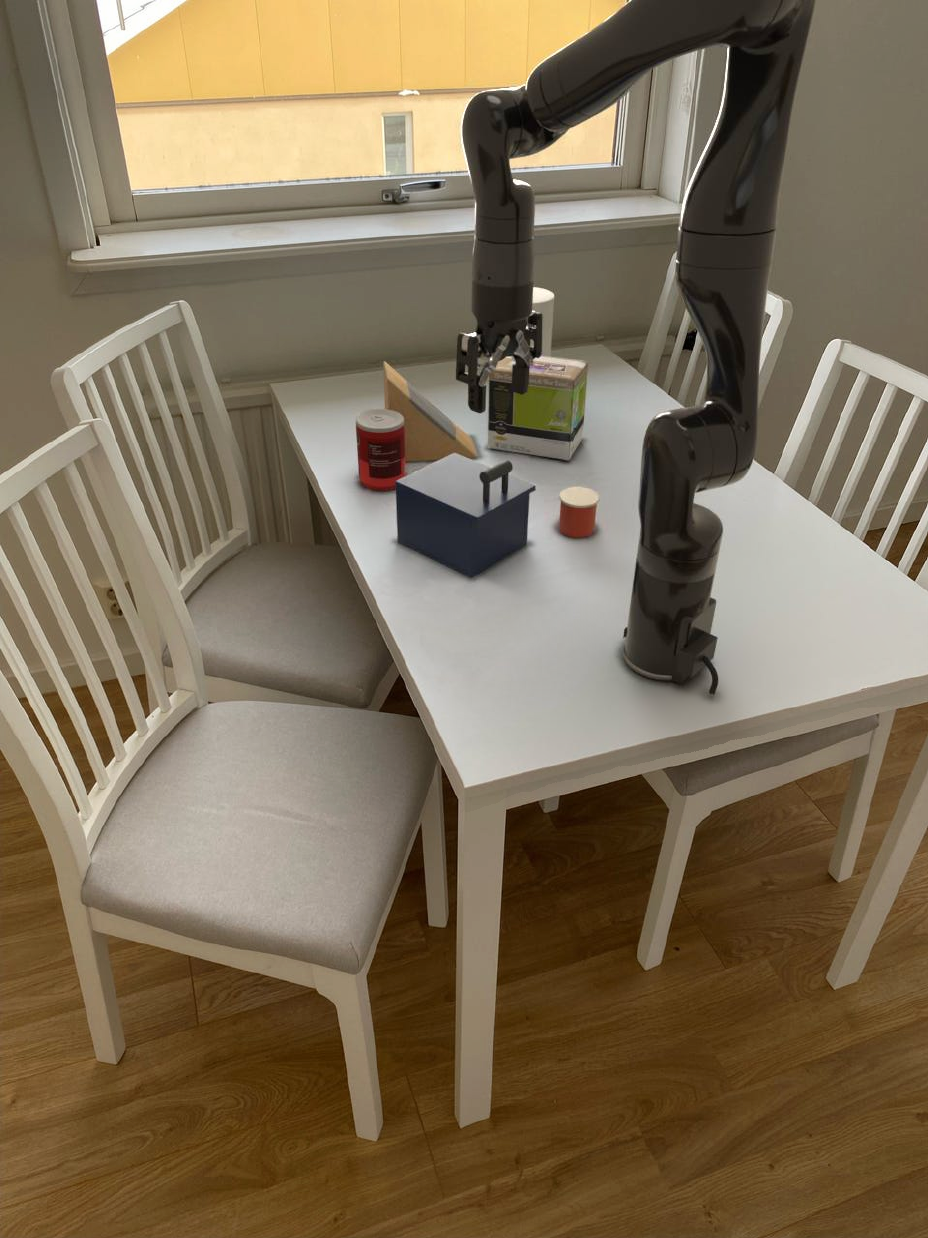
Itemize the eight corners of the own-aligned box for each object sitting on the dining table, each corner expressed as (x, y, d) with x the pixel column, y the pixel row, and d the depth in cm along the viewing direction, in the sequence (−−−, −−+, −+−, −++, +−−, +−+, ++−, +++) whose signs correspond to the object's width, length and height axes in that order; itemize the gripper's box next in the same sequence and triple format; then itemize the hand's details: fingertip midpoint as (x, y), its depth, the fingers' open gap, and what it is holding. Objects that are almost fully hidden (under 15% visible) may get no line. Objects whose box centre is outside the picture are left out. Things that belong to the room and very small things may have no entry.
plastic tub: (603, 528, 147) (607, 495, 144) (580, 542, 144) (583, 509, 140) (572, 515, 151) (575, 482, 147) (549, 529, 147) (551, 496, 144)
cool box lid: (535, 490, 137) (537, 455, 134) (477, 522, 130) (478, 487, 126) (454, 457, 146) (454, 423, 143) (395, 485, 138) (394, 451, 135)
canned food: (381, 465, 164) (378, 404, 157) (416, 479, 160) (414, 417, 153) (348, 481, 159) (344, 419, 153) (384, 496, 155) (381, 433, 148)
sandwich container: (478, 457, 166) (480, 374, 158) (390, 463, 165) (387, 378, 156) (471, 436, 173) (472, 355, 165) (386, 441, 171) (382, 359, 163)
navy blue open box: (527, 544, 143) (530, 488, 138) (471, 578, 136) (471, 520, 130) (454, 511, 151) (454, 457, 146) (397, 542, 143) (395, 486, 138)
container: (488, 391, 190) (490, 289, 179) (532, 384, 194) (538, 282, 182) (511, 410, 183) (515, 304, 171) (557, 402, 186) (564, 298, 175)
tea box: (583, 439, 173) (590, 359, 164) (568, 462, 165) (575, 380, 157) (503, 426, 177) (506, 348, 168) (485, 449, 169) (487, 367, 161)
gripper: (487, 294, 110) (485, 426, 120) (563, 269, 119) (554, 393, 128) (440, 281, 114) (440, 409, 124) (516, 257, 123) (511, 379, 133)
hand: (498, 401), depth 126 cm, fingers open, 8 cm apart
